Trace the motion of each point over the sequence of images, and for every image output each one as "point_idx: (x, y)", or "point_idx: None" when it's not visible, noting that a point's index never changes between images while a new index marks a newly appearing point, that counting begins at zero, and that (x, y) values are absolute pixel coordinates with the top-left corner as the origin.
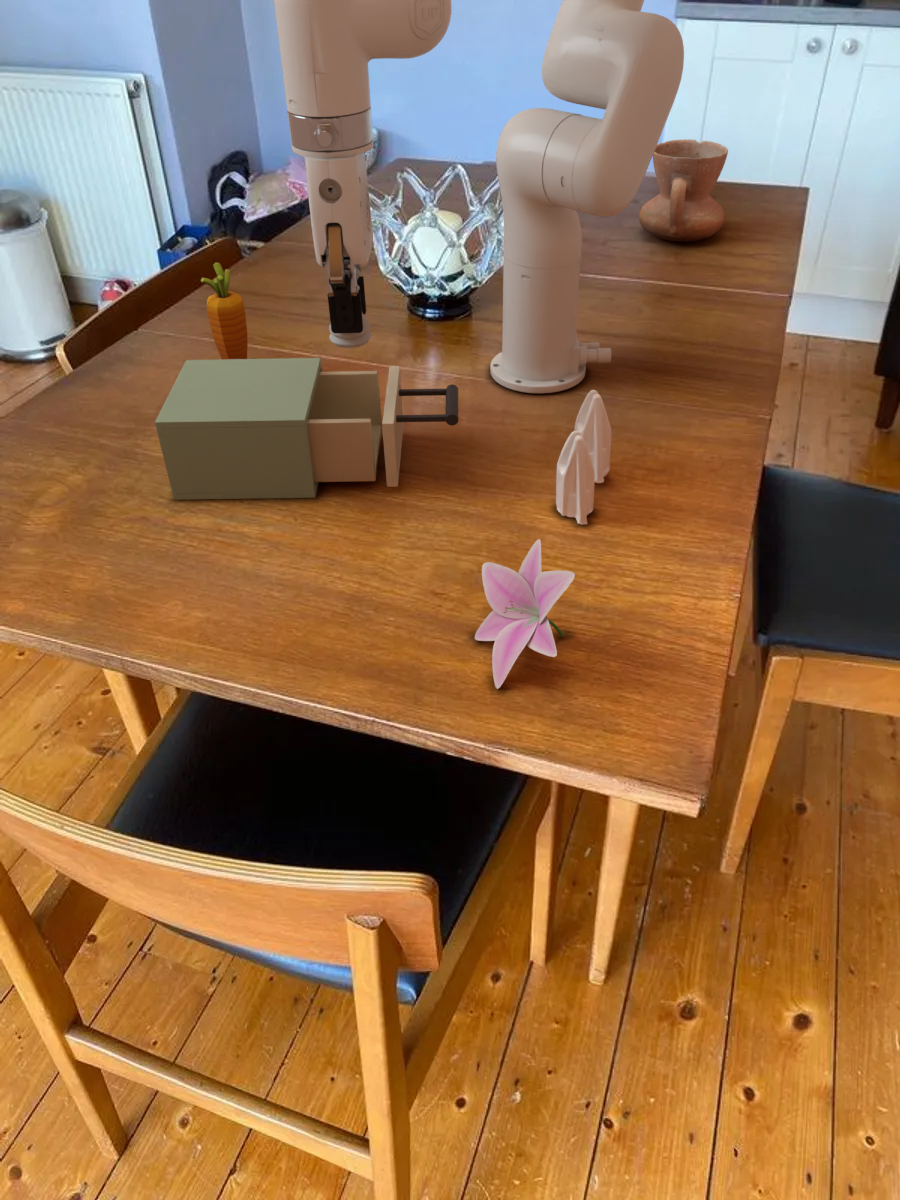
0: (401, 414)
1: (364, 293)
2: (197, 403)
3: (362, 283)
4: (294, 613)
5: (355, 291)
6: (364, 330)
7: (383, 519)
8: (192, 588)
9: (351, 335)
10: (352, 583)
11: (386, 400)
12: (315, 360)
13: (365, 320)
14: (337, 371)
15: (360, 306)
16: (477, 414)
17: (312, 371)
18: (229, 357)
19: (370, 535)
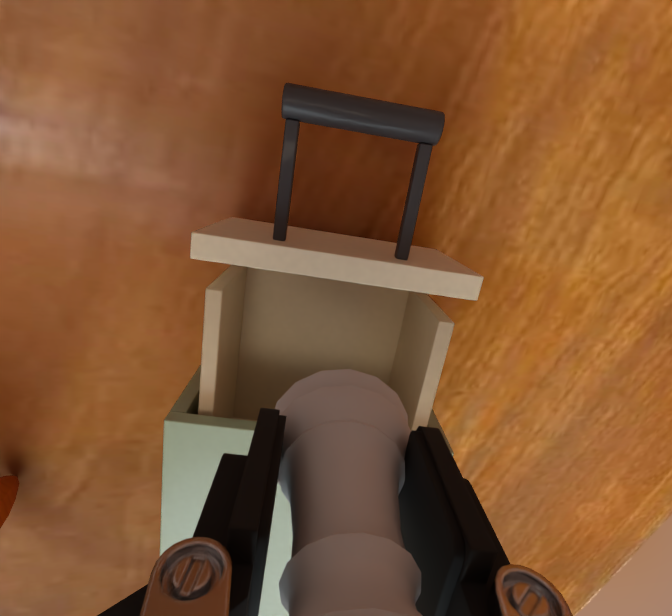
0: (256, 226)
1: (264, 462)
2: None
3: (257, 507)
4: (652, 395)
5: (568, 607)
6: (395, 411)
7: (495, 276)
8: (561, 496)
9: None
10: (625, 328)
11: (375, 282)
12: (179, 431)
13: (350, 414)
14: (201, 377)
15: (472, 500)
16: (170, 44)
17: (236, 437)
18: (3, 520)
19: (529, 298)
